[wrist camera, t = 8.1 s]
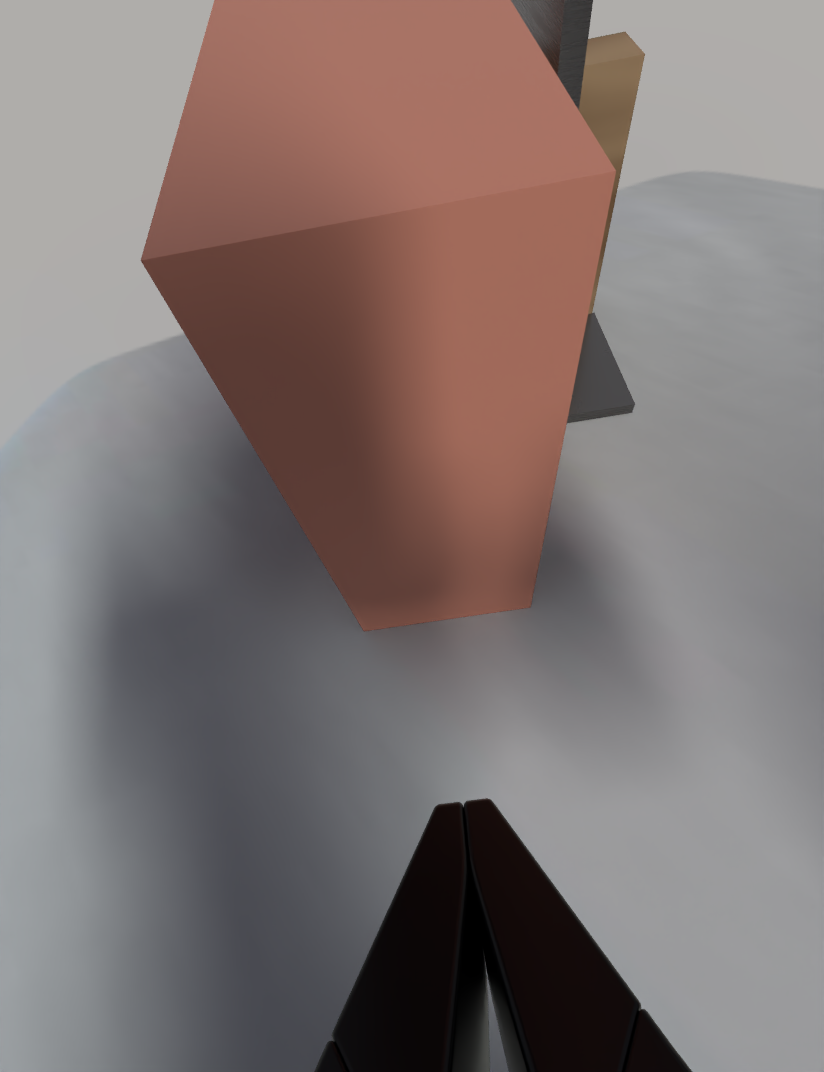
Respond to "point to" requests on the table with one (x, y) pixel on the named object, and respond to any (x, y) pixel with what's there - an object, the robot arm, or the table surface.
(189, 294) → the book box
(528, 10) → the bookend
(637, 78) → the shelf wall
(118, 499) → the table surface
